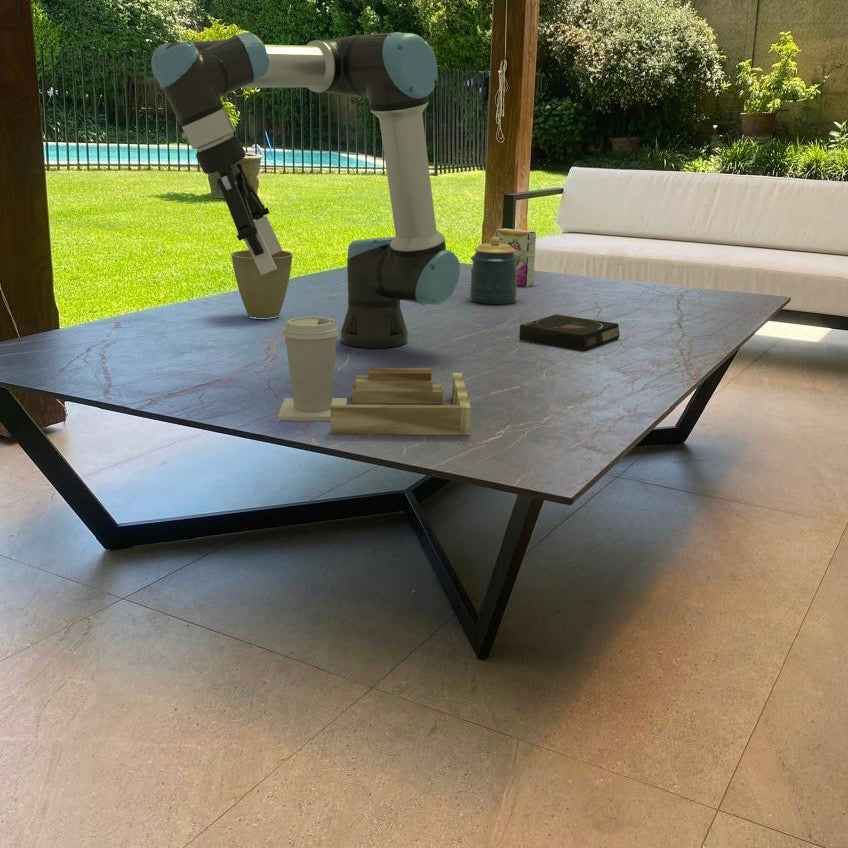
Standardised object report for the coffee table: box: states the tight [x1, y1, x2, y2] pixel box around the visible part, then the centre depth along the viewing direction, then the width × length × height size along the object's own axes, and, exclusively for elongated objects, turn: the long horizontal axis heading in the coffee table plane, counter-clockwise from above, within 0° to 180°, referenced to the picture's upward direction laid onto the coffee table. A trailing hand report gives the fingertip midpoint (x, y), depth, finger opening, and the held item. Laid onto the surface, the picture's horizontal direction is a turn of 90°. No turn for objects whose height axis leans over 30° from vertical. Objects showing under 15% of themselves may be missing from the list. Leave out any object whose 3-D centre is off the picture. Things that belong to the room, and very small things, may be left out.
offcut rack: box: [329, 372, 472, 436], centre depth 166 cm, size 22×22×4 cm
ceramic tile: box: [277, 397, 348, 422], centre depth 168 cm, size 11×11×1 cm
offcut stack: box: [351, 367, 444, 405], centre depth 175 cm, size 4×16×5 cm, turn 92°
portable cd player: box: [518, 313, 621, 352], centre depth 224 cm, size 16×17×4 cm
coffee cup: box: [281, 316, 340, 412], centre depth 165 cm, size 10×10×15 cm
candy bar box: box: [496, 228, 537, 288], centre depth 293 cm, size 11×5×16 cm, turn 58°
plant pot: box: [230, 249, 294, 318], centre depth 242 cm, size 15×15×16 cm
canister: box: [469, 236, 518, 305], centre depth 267 cm, size 13×13×18 cm
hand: (272, 262), depth 165 cm, fingers open, 13 cm apart
